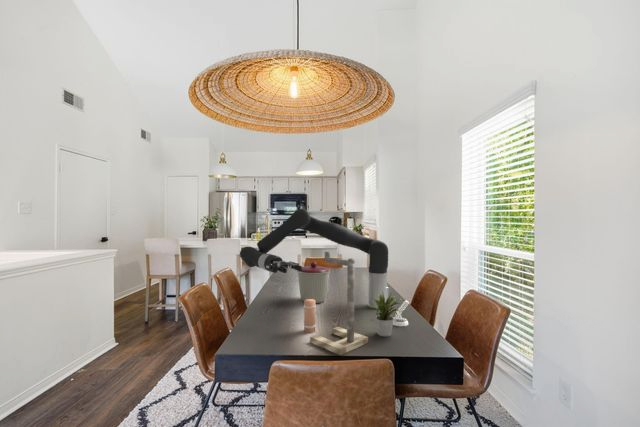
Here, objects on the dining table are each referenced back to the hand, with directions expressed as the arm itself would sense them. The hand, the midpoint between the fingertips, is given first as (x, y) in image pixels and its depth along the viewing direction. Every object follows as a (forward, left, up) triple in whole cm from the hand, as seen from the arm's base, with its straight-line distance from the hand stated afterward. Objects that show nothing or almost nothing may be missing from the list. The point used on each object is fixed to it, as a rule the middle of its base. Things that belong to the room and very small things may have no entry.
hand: (294, 269), depth 131 cm
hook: (-41, +19, -23) cm, 51 cm away
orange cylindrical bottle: (-3, +9, -23) cm, 25 cm away
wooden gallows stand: (-7, +25, -23) cm, 34 cm away
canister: (-25, -29, -23) cm, 44 cm away
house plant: (-26, +27, -23) cm, 44 cm away
